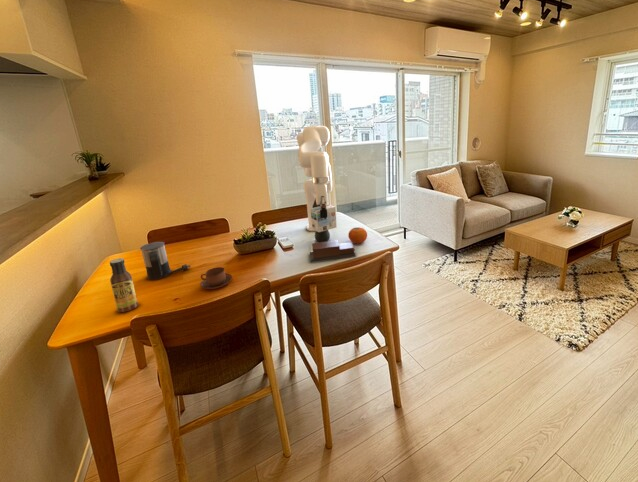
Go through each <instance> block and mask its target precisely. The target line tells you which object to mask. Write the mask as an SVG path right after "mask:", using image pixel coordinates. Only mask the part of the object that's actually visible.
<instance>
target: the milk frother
mask: <svg viewBox="0 0 638 482" xmlns="http://www.w3.org/2000/svg"><path fill="white" fill-rule="evenodd" d="M165 244H166V242H165V241H154V242H150V243H146V244H144V245H141V246H140V247H139V250H140V251H141V254H142V255H141V256H142V258H143V263H144V266H145V269H146V276H147V277H146V279H147V280H150V281H153V280H154V281H155V280H160V279H163V278H166V277H168V276H169V275H171V274H174V273H178V272H181V271H187V270H188V269H189V268H191V267H192V266H191V264H189V265H187V264H183V265H181V267H178V268H176V269H174V270H171V267H170V263H169V259H168V255H167V251H166V247H165V246H166V245H165Z"/></svg>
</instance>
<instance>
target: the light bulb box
mask: <svg viewBox="0 0 638 482" xmlns="http://www.w3.org/2000/svg"><path fill="white" fill-rule="evenodd" d="M326 209H327V218H321V217H320V210H321V209H320V206H319V207H315V208H311V220H312V229H313V230H315V231H314V232H316V231H317V232H322V231H325V230H328V231H330V230H332V229H336V228H337V226H338V225H337V214H336V213H337V209H336V206H335V205H332V204H329V203H327V205H326Z"/></svg>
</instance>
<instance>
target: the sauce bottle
mask: <svg viewBox="0 0 638 482" xmlns="http://www.w3.org/2000/svg"><path fill="white" fill-rule="evenodd" d="M109 266H110V268H111V271H112V272H111V273H112V275H111V276H110V279H109V281H110V285H111V286H110V287H111V291H112V295H113V299H114V302H115V307H116V311H117V312H119V313H126V312H130V311H132V310H134V309H136V308H137V307H138V298H137V293H136V289H135V285H134V281H133V278H132V275H131V273H130V272H129V271H127V268H126V266H125V258H123V257H118V258H113V259H112V260H110V261H109Z"/></svg>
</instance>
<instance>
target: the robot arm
mask: <svg viewBox="0 0 638 482" xmlns="http://www.w3.org/2000/svg"><path fill="white" fill-rule="evenodd" d="M330 135H331V133H330V130H329V128H328V127H327V126H325V125H310V126H306V127H304V128H303V130H302V132H300V133H298V134H297V135H296V141H297V145H298V151H297V158H298V162H299V165H300V167H301V168H303V170H304V174H305V176H306V177H307V178H311V179H307V180H305V181H304V182H303V190H304V195H305V201H306V210H307V211H306V212H307V222H308V224H307V225H306V230H307V231H309V232H316V231H315V230H313V229H312V220H311V208H312V207H313V204H314V201H315V198H316V204H317V205H319V206H320V209H321V210H320V217H321V218H327V209H326V204H328V194H330V193H332V192H333V177H332V176H333V175H332V168H331V164H330V157H329V154H328V153H327V152H326V151H320V149H321V148H322V147H326V146H327V145H328V143H329V141H330V137H331V136H330Z"/></svg>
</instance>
